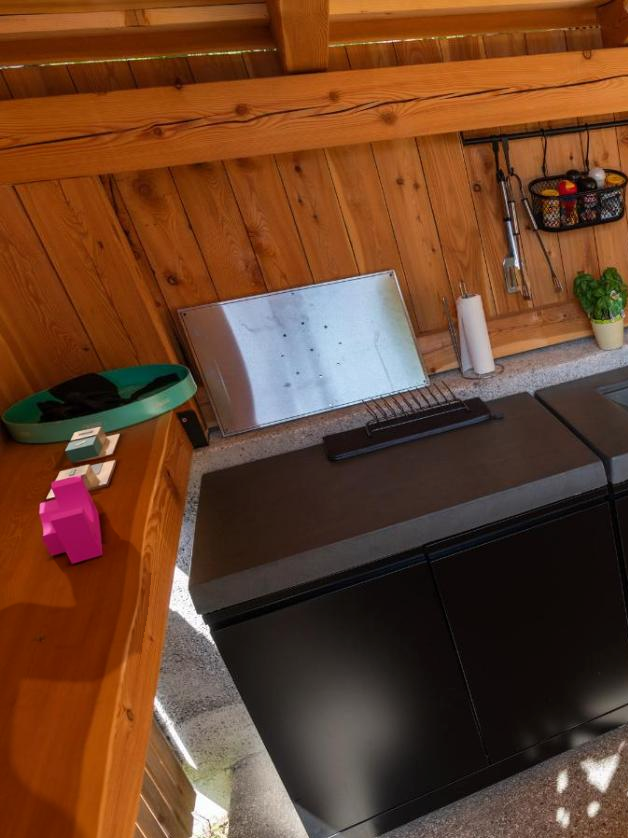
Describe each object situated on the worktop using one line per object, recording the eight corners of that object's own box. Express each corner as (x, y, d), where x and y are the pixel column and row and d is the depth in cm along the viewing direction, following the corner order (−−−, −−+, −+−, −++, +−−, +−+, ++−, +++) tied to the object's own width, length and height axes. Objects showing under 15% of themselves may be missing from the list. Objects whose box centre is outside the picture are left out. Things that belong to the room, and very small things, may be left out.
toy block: (52, 527, 122) (31, 486, 119) (99, 514, 125) (80, 474, 122) (51, 570, 112) (28, 526, 108) (102, 554, 115) (82, 512, 111)
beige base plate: (47, 501, 132) (38, 486, 131) (60, 476, 141) (51, 461, 139) (108, 486, 135) (99, 470, 134) (116, 462, 144) (109, 447, 143)
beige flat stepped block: (57, 469, 144) (49, 454, 142) (68, 448, 152) (61, 434, 151) (113, 456, 147) (106, 441, 145) (121, 436, 156) (114, 422, 154)
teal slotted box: (71, 462, 145) (64, 450, 143) (75, 453, 148) (68, 442, 147) (98, 455, 146) (92, 443, 145) (102, 447, 150) (96, 435, 149)
